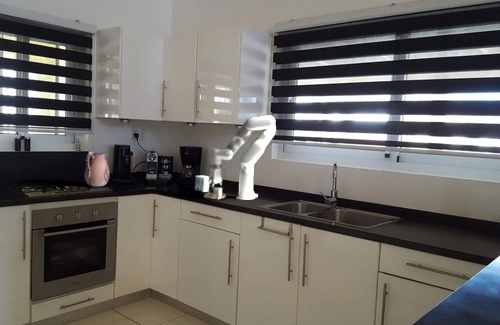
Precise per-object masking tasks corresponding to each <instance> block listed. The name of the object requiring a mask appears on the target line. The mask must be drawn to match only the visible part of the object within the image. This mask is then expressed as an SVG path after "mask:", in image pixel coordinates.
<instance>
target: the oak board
mask: <svg viewBox="0 0 500 325" xmlns="http://www.w3.org/2000/svg"><path fill="white" fill-rule="evenodd" d="M226 196H227V195H226V193H223V192H222V196H220V195H213V194H208V193H204V195H203V198H205V199H206V198H207V199H214V200H220V199H224V198H226Z"/></svg>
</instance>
